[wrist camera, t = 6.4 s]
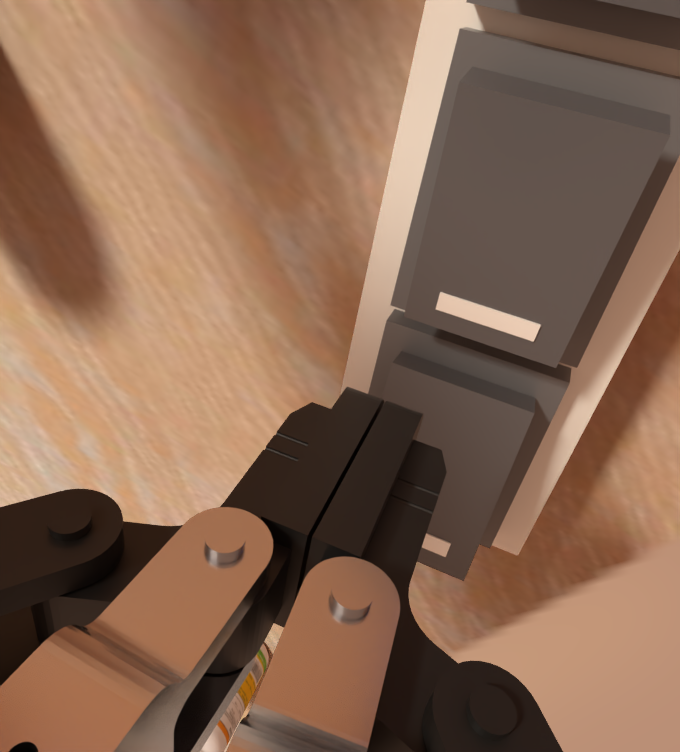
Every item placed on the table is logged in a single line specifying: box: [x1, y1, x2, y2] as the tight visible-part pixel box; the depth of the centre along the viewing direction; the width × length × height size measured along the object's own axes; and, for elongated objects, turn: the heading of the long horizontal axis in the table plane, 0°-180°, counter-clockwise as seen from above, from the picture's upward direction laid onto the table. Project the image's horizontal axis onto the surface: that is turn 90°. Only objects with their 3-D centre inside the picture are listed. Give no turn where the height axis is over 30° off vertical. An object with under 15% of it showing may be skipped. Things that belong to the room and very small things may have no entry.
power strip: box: [340, 0, 680, 556], centre depth 18 cm, size 34×9×5 cm, turn 170°
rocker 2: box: [404, 66, 670, 368], centre depth 17 cm, size 7×5×2 cm
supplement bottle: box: [200, 644, 269, 752], centre depth 41 cm, size 5×5×10 cm
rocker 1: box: [381, 351, 535, 581], centre depth 22 cm, size 7×5×2 cm
